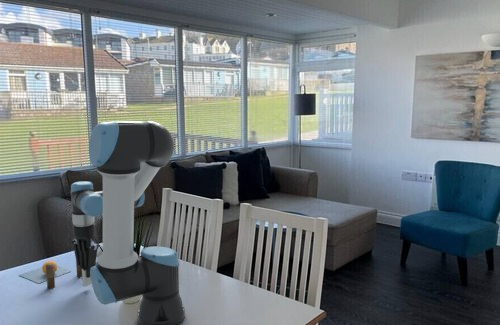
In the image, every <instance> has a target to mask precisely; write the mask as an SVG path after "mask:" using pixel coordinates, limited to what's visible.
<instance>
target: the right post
mask: <svg viewBox="0 0 500 325" xmlns="http://www.w3.org/2000/svg"><path fill="white" fill-rule="evenodd" d="M75 265H76V266H75V267H76V277H77V278H82V270H81V268H80V266H78V265H77V261H76V260H75Z"/></svg>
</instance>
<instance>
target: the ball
mask: <svg viewBox="0 0 500 325" xmlns="http://www.w3.org/2000/svg"><path fill="white" fill-rule="evenodd" d="M50 263H52V264H54V273H55V272H56V270H57V266H58V264H57V263H56V262H55V261H54V260H47V261H45V262H44V263H43V264H42V270H43V272H44V273H45V274H46V265H47V264H50Z"/></svg>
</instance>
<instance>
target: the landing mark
mask: <svg viewBox="0 0 500 325" xmlns="http://www.w3.org/2000/svg"><path fill="white" fill-rule="evenodd" d="M42 267H43V266H42ZM42 267H39V268H36V269H33V270H30V271H27V272H24V273H22V274H19V275H18V276H19V277H22V278H24V279H26V280H28V281H31V282H33V283H36V284H41V283H44V282H47V275H46V274H45V273H44V272H43V270H42ZM71 272H72V270H69V269H67V268H64V267H61V266H60V265H59V266H58V265H57V270H56V272H55V273H54V279H55V278H57V277H60V276H63V275H66V274H68V273H71Z"/></svg>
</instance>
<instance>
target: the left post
mask: <svg viewBox="0 0 500 325" xmlns="http://www.w3.org/2000/svg"><path fill="white" fill-rule="evenodd" d="M46 275H47V281H46V288H47V289H48V290H53V289H54V288H55V287H56V285H55V284H56V283H55V278H54V264H52V263H50V264H47V265H46Z"/></svg>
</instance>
